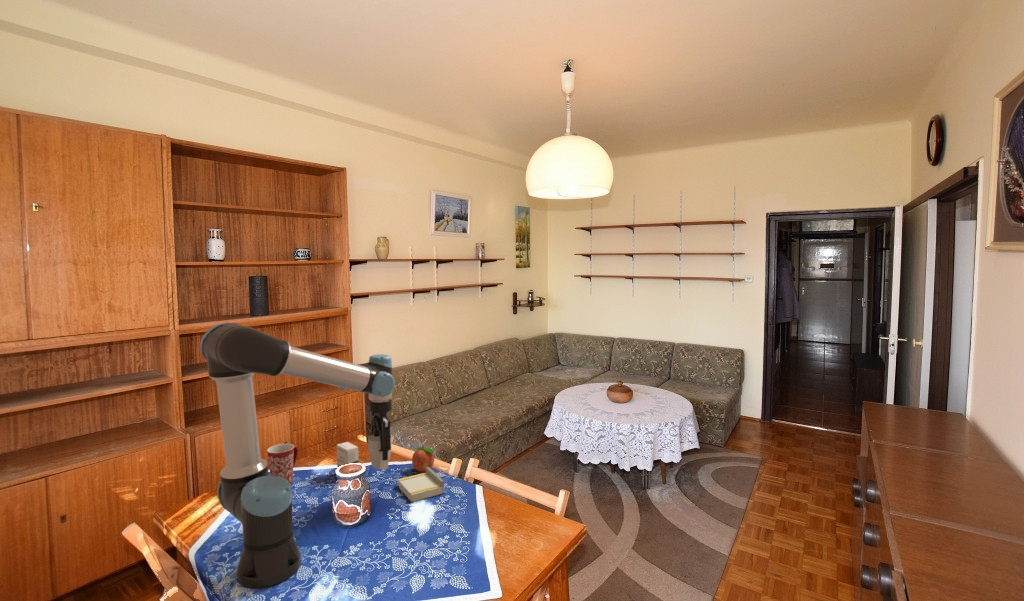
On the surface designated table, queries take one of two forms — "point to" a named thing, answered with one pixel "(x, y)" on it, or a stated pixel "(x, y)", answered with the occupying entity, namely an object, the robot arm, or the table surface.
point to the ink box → (347, 454)
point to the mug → (282, 460)
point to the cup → (376, 450)
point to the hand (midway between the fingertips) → (380, 464)
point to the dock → (422, 485)
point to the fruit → (423, 458)
